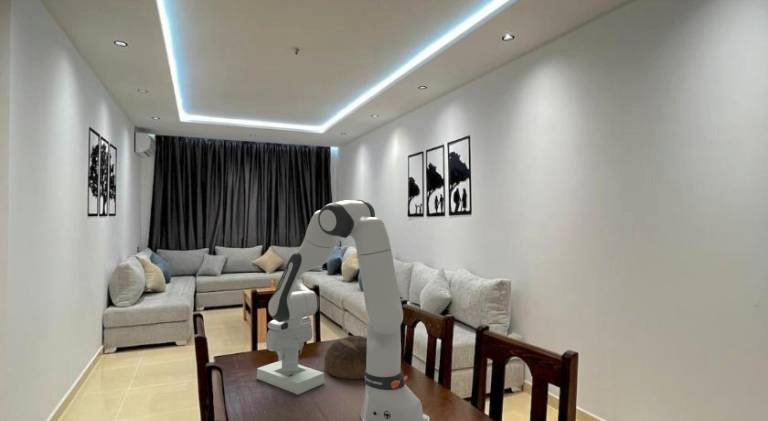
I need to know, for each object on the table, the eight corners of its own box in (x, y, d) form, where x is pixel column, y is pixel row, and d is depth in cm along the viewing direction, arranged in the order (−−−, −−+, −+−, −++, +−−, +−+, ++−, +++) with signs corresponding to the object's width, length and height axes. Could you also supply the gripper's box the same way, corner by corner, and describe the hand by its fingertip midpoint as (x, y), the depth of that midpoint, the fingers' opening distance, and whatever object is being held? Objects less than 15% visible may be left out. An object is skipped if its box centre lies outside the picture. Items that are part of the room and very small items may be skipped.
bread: (368, 355, 200) (368, 326, 200) (400, 374, 177) (400, 342, 177) (314, 364, 186) (315, 333, 186) (341, 387, 163) (342, 351, 163)
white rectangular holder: (323, 383, 166) (324, 372, 166) (297, 394, 155) (298, 383, 155) (283, 369, 180) (283, 359, 180) (256, 378, 169) (257, 368, 169)
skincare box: (297, 366, 170) (298, 335, 170) (298, 370, 166) (298, 339, 166) (281, 367, 169) (281, 336, 169) (281, 371, 164) (282, 339, 164)
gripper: (305, 314, 178) (304, 348, 178) (264, 324, 161) (263, 362, 161) (316, 317, 174) (315, 352, 174) (275, 327, 157) (274, 366, 157)
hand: (289, 357), depth 167 cm, fingers closed on skincare box, 7 cm apart
